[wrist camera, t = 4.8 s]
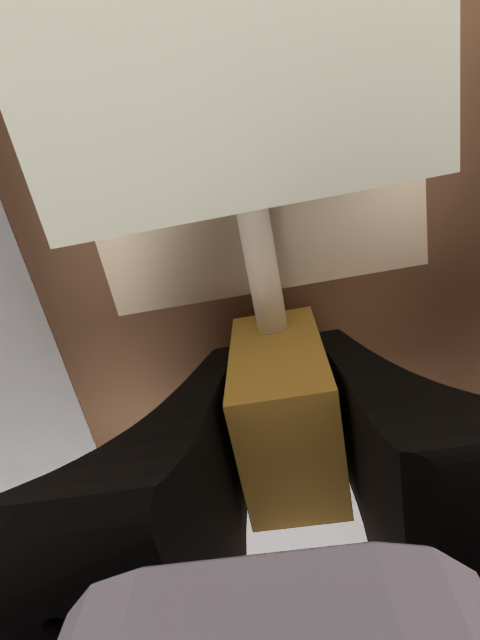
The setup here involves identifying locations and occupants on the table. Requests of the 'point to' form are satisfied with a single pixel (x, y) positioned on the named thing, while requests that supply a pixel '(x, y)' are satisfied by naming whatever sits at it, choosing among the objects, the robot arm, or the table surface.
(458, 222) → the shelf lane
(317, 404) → the block
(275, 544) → the table surface
